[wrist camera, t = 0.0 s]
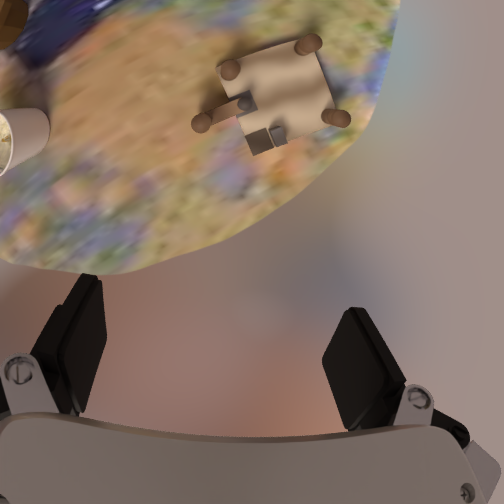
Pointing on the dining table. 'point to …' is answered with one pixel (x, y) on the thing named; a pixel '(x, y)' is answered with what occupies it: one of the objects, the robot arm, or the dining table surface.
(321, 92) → the stool
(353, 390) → the robot arm
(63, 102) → the dining table surface
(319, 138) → the dining table surface
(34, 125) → the white paper cup
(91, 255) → the dining table surface
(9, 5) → the flowerpot
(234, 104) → the hinged leg
